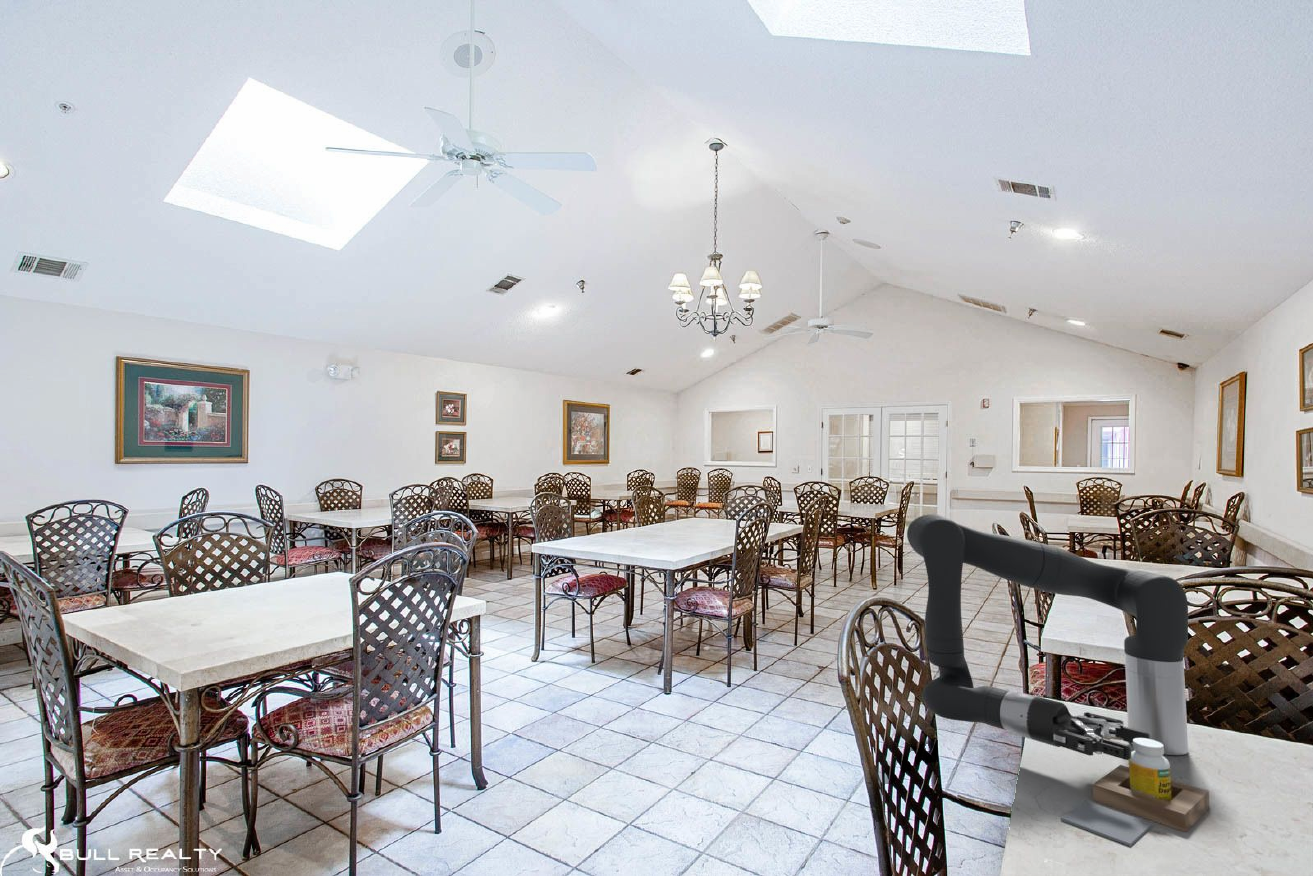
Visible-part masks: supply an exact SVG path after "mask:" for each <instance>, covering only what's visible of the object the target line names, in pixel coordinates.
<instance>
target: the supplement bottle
mask: <svg viewBox="0 0 1313 876" xmlns="http://www.w3.org/2000/svg"><path fill="white" fill-rule="evenodd" d="M1132 748H1133V750H1131V758H1130V759H1129V760H1128V767H1129V776H1130V790H1133V791H1136V792H1139V793H1142V794H1145V795H1148V796H1151V797H1154V798H1158V799H1161V800H1164V801H1167V802H1170V801H1171V800H1172V796H1171V780H1172V779H1171V777H1172V776H1171V763H1170V761H1169V760H1168V759H1167V758H1166V757H1165V756H1164V755H1165V754H1164V746H1163V744H1162V743H1160V742H1158V741H1155V740H1152V739H1147V738H1134V739H1133V744H1132Z"/></svg>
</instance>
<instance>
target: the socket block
mask: <svg viewBox="0 0 1313 876" xmlns="http://www.w3.org/2000/svg"><path fill="white" fill-rule="evenodd" d="M1092 793H1093V794H1092V797H1093V799H1092V800H1093V801H1095V802H1097V803H1101V804H1104V805H1106V806H1110V807H1112V808H1115V809H1117V810H1121V811H1124V812H1127V813H1130V814H1133V815H1134V816H1135V815H1136V816H1138V817H1141V818H1145V819H1147V820H1150V821H1153V822H1156V823H1159V824H1162V825H1165V826H1167V827H1171V828H1174V829H1176V830H1180V831H1182V832H1185V833H1186V832H1187V831H1188V830H1190V828H1191V827H1192V826H1193V825H1195V824H1196V822H1197V821H1198V820H1200V818H1202V816H1203V815H1204V814H1205V813H1206V812H1207V810H1208V809H1209V808H1211V807H1210V806H1211V803H1210V791H1209V790H1207V789H1204V788H1200V787H1197V786H1194V785H1190V784H1187V783H1184V782H1180V781H1178V780H1174V779H1171V796H1172V800H1171V801H1170V802H1167V801H1164V800H1161V799H1158V798H1154V797H1151V796H1148V795H1145V794H1142V793H1139V792H1136V791H1133V790H1130V776H1129V766H1126V765H1123V764H1120V765H1118V766H1117V767H1115V768H1114V769H1112V770H1111V771H1109V772H1108V773H1106V774H1105V775H1104V776H1102V777H1101V778H1100V779H1098V780H1097V781H1095V782H1094V783H1092ZM1192 824H1193V825H1192Z"/></svg>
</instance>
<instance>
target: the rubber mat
mask: <svg viewBox="0 0 1313 876" xmlns="http://www.w3.org/2000/svg"><path fill="white" fill-rule="evenodd" d="M1060 822H1065V823H1067V824H1070V825H1072V826H1075V827H1078V828H1081V829H1083V830H1086V831H1088V832H1091V833H1093V834H1096V835H1099V836H1101V837H1104V838H1107V839H1109V840H1112V841H1115V842H1117V843H1119V842H1120V844H1122V843H1123V845H1125V846H1127V847H1129V848H1130V847H1132V846H1134V844H1135V843H1136V842H1137V841H1138V840H1139V839H1140V838H1142V836H1144V835H1145V834H1146V833H1147V832H1148V831H1149V830H1151V828H1153V823H1152V822H1149V821H1147V820H1144V819H1141V818H1138V817H1135V816H1132V815H1129V814H1126V813H1123V812H1120V811H1117V810H1115V809H1111V808H1109V807H1107V806H1103V805H1100V804H1098V803H1095V802H1092V801H1088V800H1087V799H1085V800H1083V801H1082V802H1080V803H1079V804H1077V805H1076V806H1075V807H1074V808H1072V809H1070V810H1069V811H1068V812H1067V813H1065V814H1064V815H1062V816H1061V817H1060Z"/></svg>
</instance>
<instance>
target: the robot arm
mask: <svg viewBox="0 0 1313 876" xmlns="http://www.w3.org/2000/svg"><path fill="white" fill-rule="evenodd" d="M906 537H907V541H908V543H909V545H910V547H911V548H912V550H913V551H914V552H915V553H917V554H918V556H921V557H922V558H923V560H924V564H925V565H924V566H925V570H926V573H927V582H928V583H927V584H928V585H927V587H928V591H927V592H928V593H927V595H928V596H927V601H926V608H925V616H924V636H925V648H926V649H925V650H926V651H925V652H927V646H928V655H929V660H928V661H929V662H930V664H932V665H933V666H935V667H938V671H939V676H938V677H936V678H934V679H932V680H931V682H930V681H929V682H927V684H926V685H924V688H923V690H922V696H921V697H922V700H923V703H924V704H925V707H927V709H928V710H930V712H932V713H933V714H935V715H936V716H939V717H941V718H944V719H947V720H952V721H959V722H960V721H961V722H967V723H981V724H986V725H989V726H991V727H995V728H997V729H1001V730H1004V731H1007V732H1010V733H1012V734H1014V735H1018V736H1019V737H1023V738H1027V739H1029V740H1033V741H1037V742H1040V743H1043V744H1046V745H1049V746H1053V747H1055V748H1060V747H1061V748H1065V749H1068V750H1070V751H1074V752H1078V753H1080V754H1083V755H1085V756H1091V757H1092V756H1094V754H1097V755H1102V754H1104V755H1107V756H1112V757H1115V758H1119V759H1122V760H1125V761H1129V759H1130V758H1131V752H1132V748H1131V745H1129V744H1132V745H1133V739H1134V738H1147V739H1152V740H1155V741H1158V742H1160V743H1162V744H1163V746H1164V754H1163V755H1169V756H1184V755H1186V754H1188V753H1189V741H1188V739H1189V738H1188V724H1187V722H1188V721H1187V720H1188V718H1187V701H1186V699H1187V698H1186V684H1185V683H1186V682H1185V681H1186V679H1185V664H1184V663H1185V662H1184V651H1185V649H1186V647H1187V645H1188V642H1189V640H1188V639H1189V603H1188V598H1187V597H1188V596H1187V593H1186V592H1185V588H1184V587H1183V586H1182V584H1181V583H1180V582H1179V581H1177V580H1176V579H1174V578H1172V577H1170V576H1166V575H1163V574H1160V573H1159V574H1158V573H1153V572H1149V571H1144V570H1137V569H1129V568H1128V569H1127V568H1121V567H1116V566H1112V565H1111V566H1110V565H1104V564H1099V563H1096V562H1093V561H1090V560H1088V559H1086V558H1084V557H1081V556H1080V555H1077V554H1076V553H1073V552H1070V551H1068V550H1066V549H1063V548H1059V547H1056V546H1054V545H1049V544H1046V543H1042V542H1037V541H1034V540H1030V539H1024V538H1022V537H1021V538H1020V537H1017V536H1011V535H1010V536H1009V535H1003V534H997V533H990V532H986V531H981V530H977V529H973V528H970V527H969V526H965V525H962V524H960V523H957V522H956V521H954V520H952V519H950V518H947V517H946V516H942V515H939V514H934V513H933V514H932V513H931V514H930V513H929V514H924V515H921V516H918V517H917V518H915V519H914V520H912V521H911V522H910V524H909V525H908V526H907V530H906ZM964 564H966V565H970V566H973V567H975V568H978V569H980V570H983V571H985V572H988V573H989V574H992V575H994V576H997V577H999V578H1001V579H1003V580H1006V581H1009V582H1013V583H1015V584H1018V585H1021V586H1024V587H1027V588H1029V589H1030V588H1031V589H1034V590H1038V591H1042V592H1046V593H1050V594H1056V595H1060V596H1061V595H1063V596H1070V597H1080V598H1087V599H1090V600H1093V601H1097V602H1099V603H1102V604H1104V605H1107V606H1110V607H1112V608H1115V609H1118V610H1120V611H1122V612H1125V613H1126V614H1129V615H1131V616H1133V617H1135V619H1136V620H1135V632H1134V634H1133V635H1129V636H1127V637H1125V639H1124V641H1123V648H1124V664H1125V665H1124V669H1125V686H1126V687H1125V688H1126V689H1125V690H1126V711H1127V726H1124V721H1123V720H1122V719H1116V718H1112V717H1108V716H1105V715H1099V714H1096V713H1092V712H1088V711H1087V712H1084V713H1083V715H1078V714H1077V715H1076V716H1075V715H1072V714H1071V713H1070V712H1069V708H1068V707H1067V705H1066V704H1065V703H1064V702H1061V701H1060V702H1059V701H1057V700H1053V699H1049V698H1044V697H1041V696H1040V697H1039V696H1036V695H1031V694H1029V693H1023V692H1017V691H1016V692H1015V691H1010V690H1006V689H1004V688H998V687H994V686H988V685H982V686H978V687H974V682H973V677H972V675H971V672H970V669H969V665H968V662H967V660H966V658H965V647H964V645H965V644H964V632H963V631H964V630H963V623H962V622H963V621H962V619H963V618H962V578H963V576H962V575H963V568H964V567H963V565H964ZM928 655H927V654H926V657H927V658H928ZM1111 728H1114V729H1111ZM1115 740H1117V741H1115ZM1118 741H1124V742H1127V743H1129V744H1126V743H1123V742H1118ZM1187 752H1188V753H1187Z"/></svg>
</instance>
